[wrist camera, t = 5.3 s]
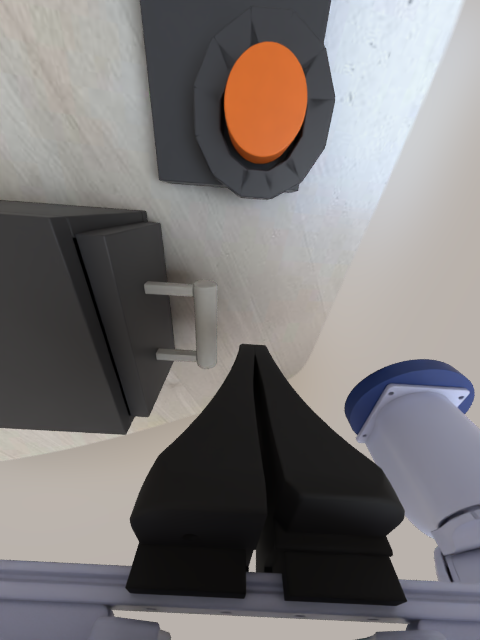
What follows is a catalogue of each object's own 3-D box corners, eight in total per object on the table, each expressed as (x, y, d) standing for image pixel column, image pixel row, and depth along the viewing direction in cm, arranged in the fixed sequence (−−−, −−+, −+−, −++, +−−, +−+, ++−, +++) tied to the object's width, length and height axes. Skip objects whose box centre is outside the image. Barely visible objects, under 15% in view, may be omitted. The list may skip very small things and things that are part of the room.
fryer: (146, 210, 14) (48, 217, 7) (167, 354, 20) (126, 435, 13) (-72, 194, 14) (-402, 184, 7) (17, 345, 20) (-107, 422, 13)
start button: (289, 166, 10) (298, 160, 9) (225, 161, 10) (222, 154, 9) (304, 72, 9) (317, 44, 7) (228, 66, 9) (225, 36, 7)
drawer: (223, 227, 14) (210, 243, 8) (220, 359, 19) (211, 421, 14) (-48, 207, 13) (-252, 209, 8) (29, 347, 19) (-58, 406, 13)
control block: (298, 202, 14) (313, 202, 11) (169, 193, 13) (148, 189, 10) (350, -91, 8) (411, -258, 5) (142, -112, 8) (84, -296, 5)
